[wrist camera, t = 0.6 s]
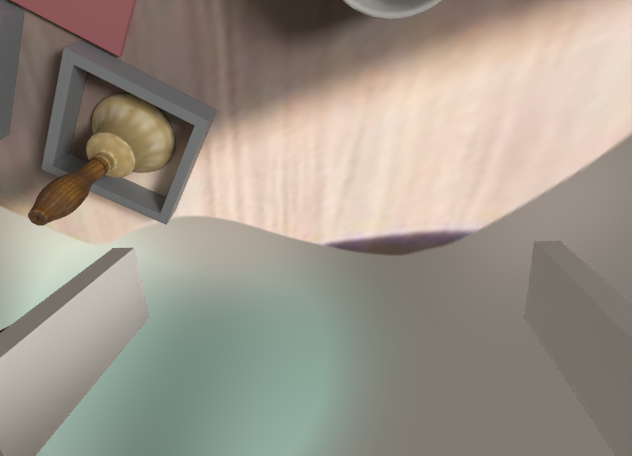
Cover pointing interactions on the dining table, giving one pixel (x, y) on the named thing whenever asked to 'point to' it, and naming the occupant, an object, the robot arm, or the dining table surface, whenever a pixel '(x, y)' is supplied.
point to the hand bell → (110, 153)
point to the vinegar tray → (8, 59)
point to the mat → (89, 19)
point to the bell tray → (132, 80)
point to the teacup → (391, 7)
